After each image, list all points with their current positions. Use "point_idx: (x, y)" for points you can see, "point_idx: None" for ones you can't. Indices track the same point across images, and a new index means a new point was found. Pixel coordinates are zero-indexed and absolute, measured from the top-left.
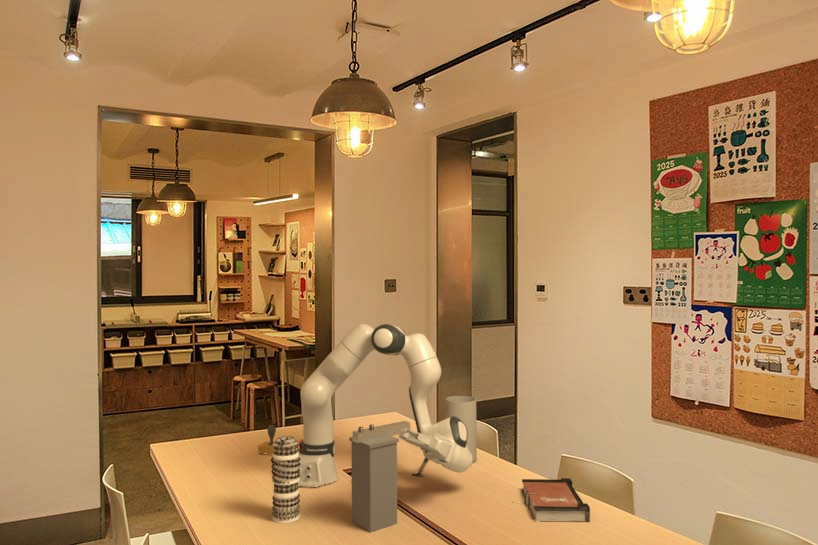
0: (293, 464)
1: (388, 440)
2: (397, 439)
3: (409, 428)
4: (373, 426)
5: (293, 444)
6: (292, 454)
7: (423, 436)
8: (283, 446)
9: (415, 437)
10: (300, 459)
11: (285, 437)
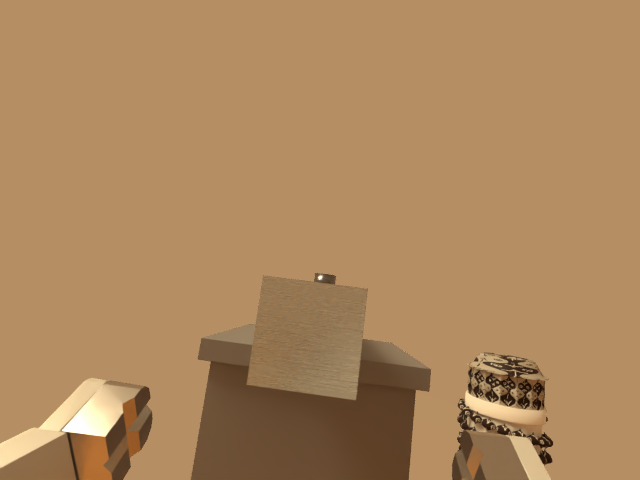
0: (472, 425)
1: (233, 333)
2: (205, 338)
3: (254, 338)
4: (315, 278)
5: (478, 366)
6: (471, 393)
7: (36, 431)
8: (470, 363)
9: (146, 419)
10: (501, 433)
11: (520, 359)
